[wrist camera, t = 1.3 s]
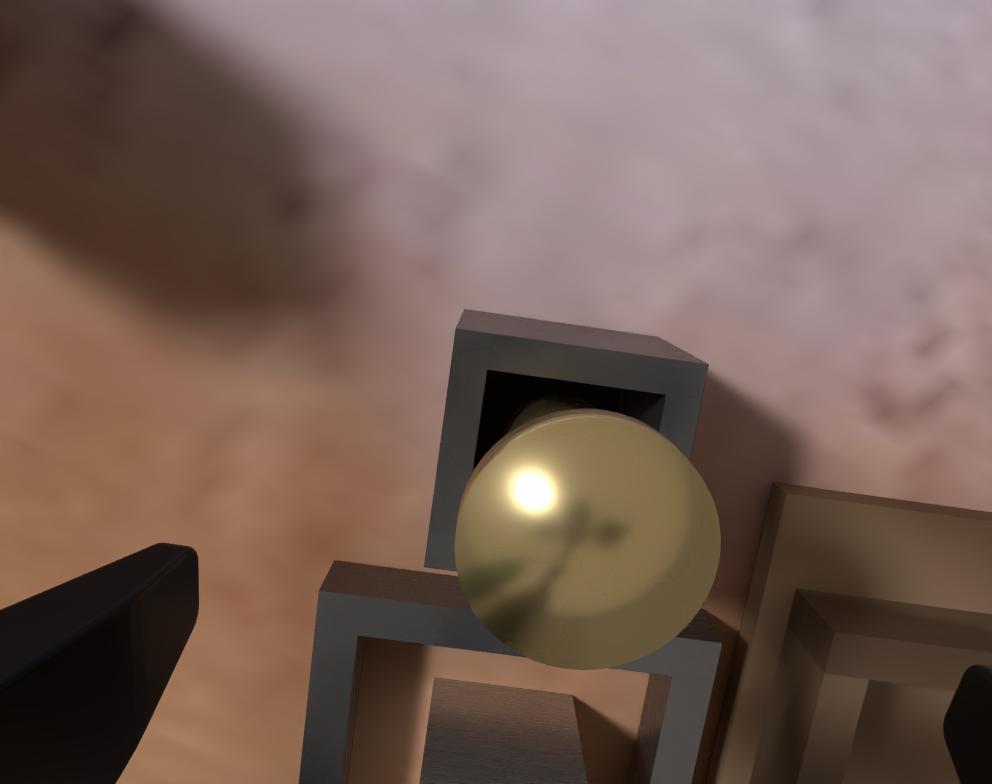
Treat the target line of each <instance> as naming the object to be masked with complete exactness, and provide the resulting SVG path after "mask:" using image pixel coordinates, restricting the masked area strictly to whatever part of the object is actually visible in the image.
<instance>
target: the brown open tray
mask: <svg viewBox="0 0 992 784" xmlns="http://www.w3.org/2000/svg"><path fill="white" fill-rule="evenodd" d="M974 664H984V665H991V666H992V512H984V511H977V510H970V509H963V508H955V507H948V506H941V505H934V504H926V503H919V502H912V501H904V500H897V499H890V498H883V497H875V496H868V495H861V494H854V493H846V492H839V491H832V490H824V489H817V488H810V487H803V486H795V485H788V484H781V483H774V482H773V487H772V491H771V496H770V500H769V505H768V509H767V513H766V518H765V522H764V527H763V531H762V536H761V540H760V544H759V549H758V553H757V558H756V562H755V567H754V571H753V575H752V580H751V584H750V589H749V593H748V598H747V602H746V606H745V611H744V615H743V620H742V624H741V629H740V633H739V637H738V642H737V646H736V651H735V655H734V660H733V664H732V668H731V673H730V677H729V682H728V686H727V691H726V695H725V699H724V704H723V708H722V713H721V717H720V722H719V726H718V730H717V735H716V739H715V744H714V748H713V753H712V757H711V761H710V766H709V770H708V775H707V779H706V783H705V784H960V781H959V779H958V776H957V773H956V770H955V768H954V765H953V762H952V759H951V757H950V754H949V751H948V748H947V746H946V743H945V739H944V734H943V722H944V717H945V714H946V712H947V710H948V707H949V705H950V703H951V701H952V698H953V696H954V694H955V692H956V690H957V687H958V685H959V683H960V681H961V678H962V676H963V674H964V672H965V670H966V669H967V668H969V667H970V666H971V665H974Z"/></svg>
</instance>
